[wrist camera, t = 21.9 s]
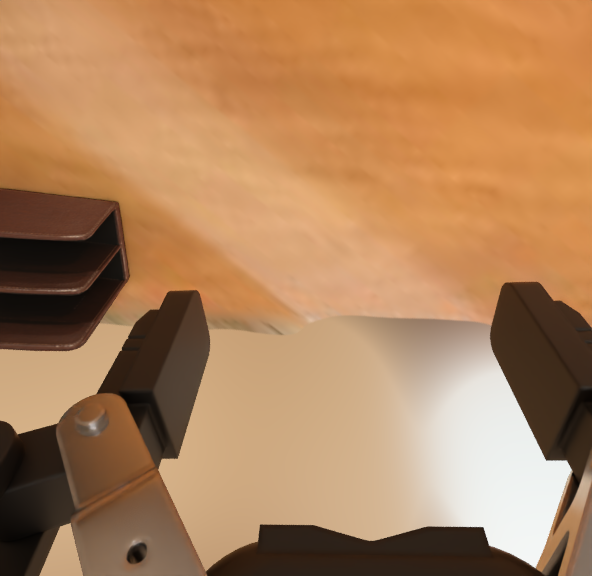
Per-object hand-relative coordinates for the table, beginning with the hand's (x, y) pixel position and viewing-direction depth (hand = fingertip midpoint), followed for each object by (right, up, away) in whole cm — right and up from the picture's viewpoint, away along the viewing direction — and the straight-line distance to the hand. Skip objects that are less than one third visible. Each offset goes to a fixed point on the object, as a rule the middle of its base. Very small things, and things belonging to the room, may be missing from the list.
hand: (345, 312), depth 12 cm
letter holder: (-30, +7, +36) cm, 48 cm away
